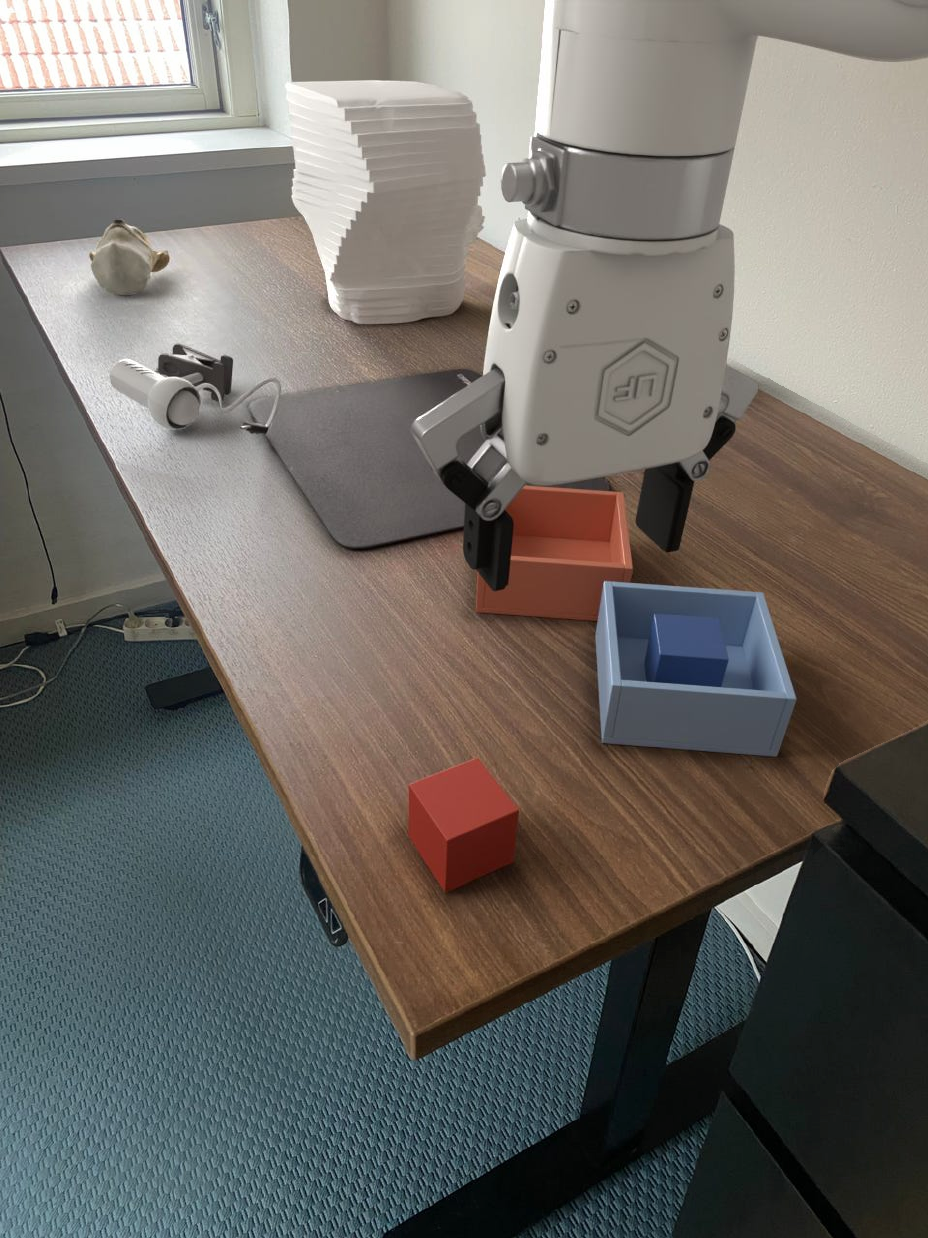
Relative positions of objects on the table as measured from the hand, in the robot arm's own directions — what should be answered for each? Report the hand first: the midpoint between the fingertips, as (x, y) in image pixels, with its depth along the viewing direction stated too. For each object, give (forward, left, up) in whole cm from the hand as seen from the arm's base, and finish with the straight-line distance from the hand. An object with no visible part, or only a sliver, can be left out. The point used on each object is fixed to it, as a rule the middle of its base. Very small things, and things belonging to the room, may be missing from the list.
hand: (574, 556), depth 46 cm
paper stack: (+19, -82, -17) cm, 86 cm away
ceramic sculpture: (+57, -86, -17) cm, 105 cm away
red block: (+5, +6, -17) cm, 18 cm away
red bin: (0, -22, -17) cm, 28 cm away
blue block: (-9, -10, -16) cm, 21 cm away
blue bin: (-9, -9, -17) cm, 21 cm away
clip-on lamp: (+35, -46, -17) cm, 60 cm away
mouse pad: (+13, -43, -17) cm, 48 cm away
